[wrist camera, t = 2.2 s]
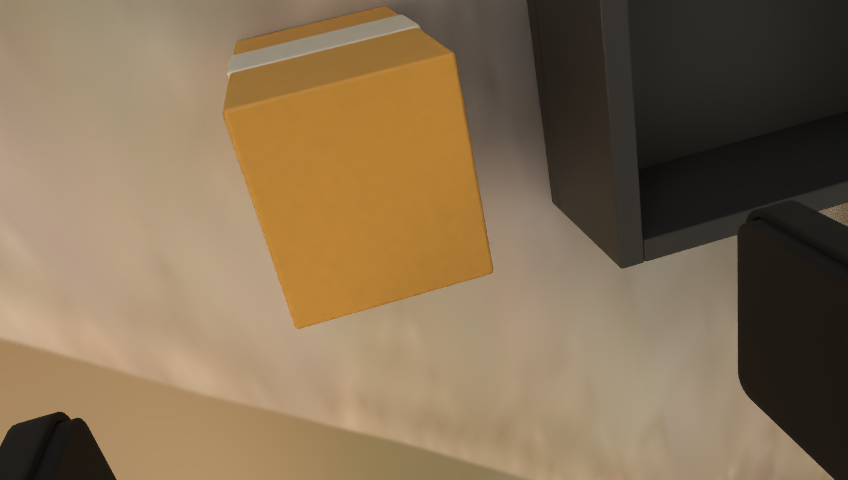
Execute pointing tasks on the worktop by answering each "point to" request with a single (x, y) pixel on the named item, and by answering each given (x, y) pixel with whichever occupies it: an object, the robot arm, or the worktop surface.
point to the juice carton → (357, 162)
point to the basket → (689, 115)
